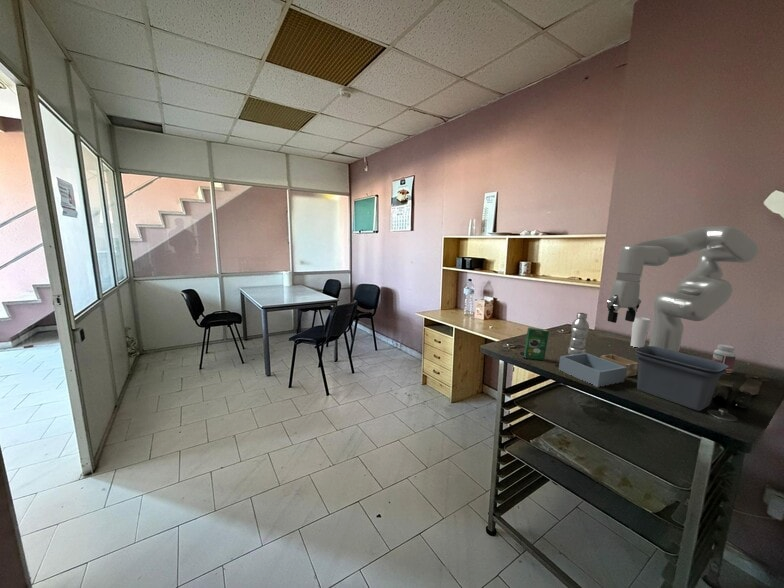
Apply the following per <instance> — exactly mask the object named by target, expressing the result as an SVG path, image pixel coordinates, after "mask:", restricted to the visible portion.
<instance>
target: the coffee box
mask: <svg viewBox="0 0 784 588" xmlns="http://www.w3.org/2000/svg"><path fill="white" fill-rule="evenodd" d="M525 338H526V339H525V344H524V345H525V346H524V350H523V358H524V357H525V358H524V359H529V360H537V361H545V357H546V352H547V347H548V346H547V345H548V339H549V330H548V329H544V328H535V327H527V332H526V337H525Z"/></svg>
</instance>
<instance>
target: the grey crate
mask: <svg viewBox="0 0 784 588" xmlns="http://www.w3.org/2000/svg"><path fill="white" fill-rule="evenodd" d="M558 369H559V370H558V371H560V370H561V372H562V371H563V372H562V373H564V374H568V375H570V376H571V375H572V377H574V378H576V379H578V380H580V381H582V380H583V381H582V382H585V381H586V382H585V383H587V382H588V383H587V384H589V383H591V384H593V385H592V386H594V387H596V388H601V387H605V385H606V386H610V384H611V385H614V384H615V383H616V384H619V383H620V382H621V383H624V382H625V380H626V377H625V374H626V369H627V367H624V366H621V365H618V364H615V363H613V362H610V361H607V360H604V359H602V358H600V357H598V356H595V355H594V354H591V353H587V352H585V353H581V354H574V355H568V354H567V355H560V357H559V364H558ZM591 384H590V385H591ZM616 384H615V385H616ZM600 386H601V387H600Z"/></svg>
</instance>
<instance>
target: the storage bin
mask: <svg viewBox="0 0 784 588" xmlns="http://www.w3.org/2000/svg"><path fill="white" fill-rule="evenodd" d="M634 351H635V353H634V356H635V357H637V358H638V362H637V363H638V368H637V382H636V383H637V384H636V388H637V390H638V391H640V392H643V393H646V394H649V395H652V396H655V397H657V398H661V399H663V400H666V401H669V402H671V403H675V404H677V405H679V406H683V407H685V408H688V409H691V410H694V411H698V412H701V411H702V410H704V409H706V408H707V407H709V406H710V405H711V403H712V398H713V397H714V394H715V391H716V389H717V385H718V383H719V380H720V377H721V376H724V375H727V374H726V373H727V370H726V368H728V367H729V366H728V365H726V364H723V363H719V362H716V361H712V359H709V358H703V357H699V356H695V355H692V354H688V353H683V352H680V351H679V352H676V351H672V350H668V349H664V348H659V347H654V346H649V345H644V346H643V347H639V348H634Z"/></svg>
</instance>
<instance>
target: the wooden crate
mask: <svg viewBox="0 0 784 588" xmlns="http://www.w3.org/2000/svg"><path fill="white" fill-rule="evenodd" d="M599 358H602V359H604V360H607V361H610V362H613V363H615V364H618V365H621V366H624V367H627V369H626V374H625V378H627V377H632V376H636V375H638V362H637V361H634V360H631V359H628V358H626V357H625V358H624V357H622V356H618V355H617V354H612V353H610V354H603V355H600V357H599Z"/></svg>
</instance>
